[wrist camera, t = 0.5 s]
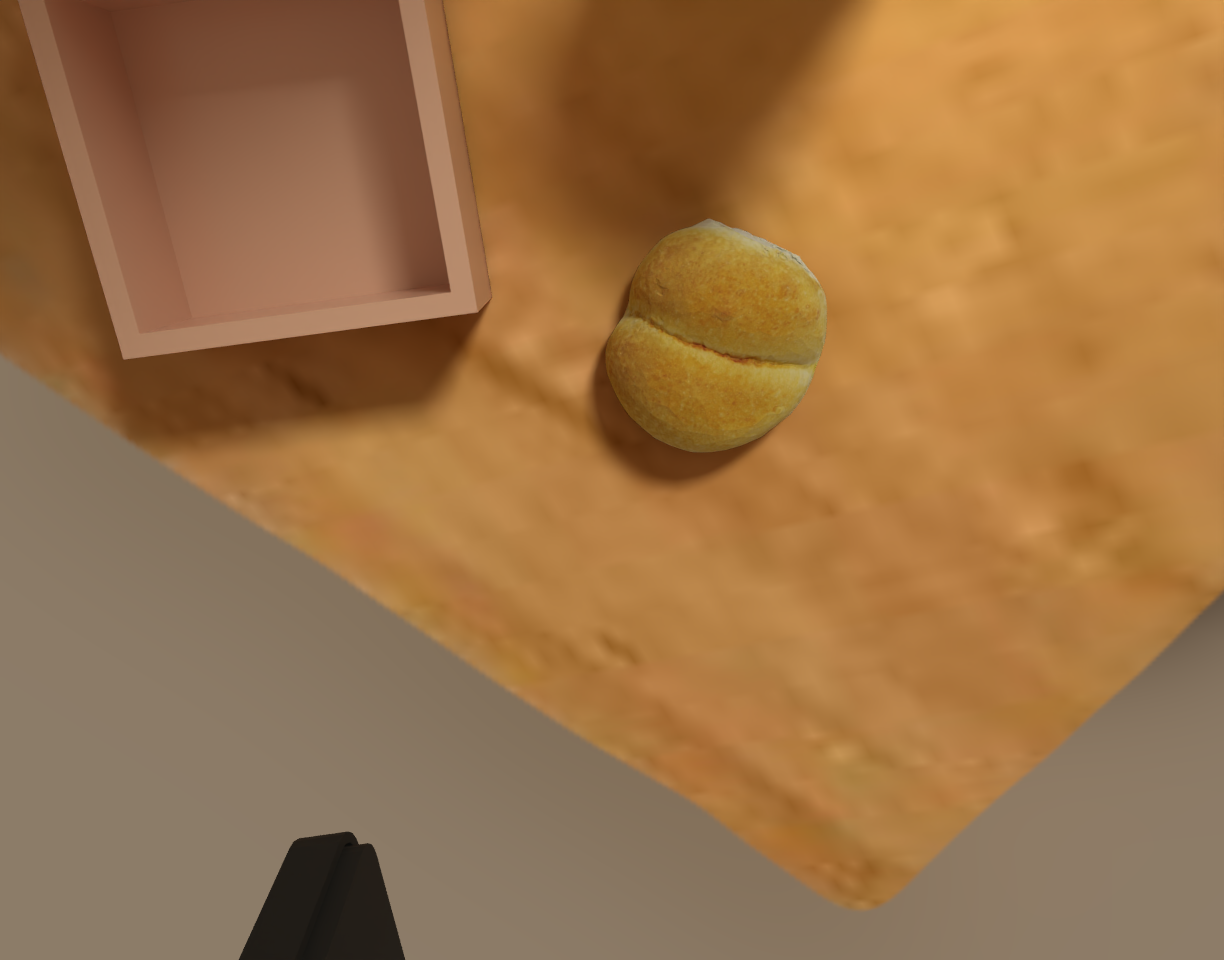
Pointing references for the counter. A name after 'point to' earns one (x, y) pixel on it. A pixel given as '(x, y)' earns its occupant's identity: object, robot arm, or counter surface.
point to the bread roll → (716, 338)
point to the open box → (263, 164)
